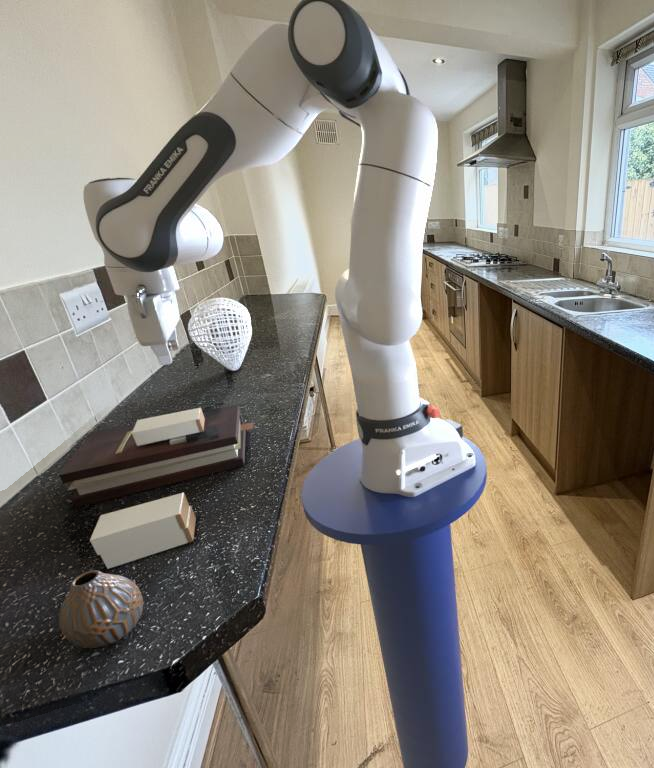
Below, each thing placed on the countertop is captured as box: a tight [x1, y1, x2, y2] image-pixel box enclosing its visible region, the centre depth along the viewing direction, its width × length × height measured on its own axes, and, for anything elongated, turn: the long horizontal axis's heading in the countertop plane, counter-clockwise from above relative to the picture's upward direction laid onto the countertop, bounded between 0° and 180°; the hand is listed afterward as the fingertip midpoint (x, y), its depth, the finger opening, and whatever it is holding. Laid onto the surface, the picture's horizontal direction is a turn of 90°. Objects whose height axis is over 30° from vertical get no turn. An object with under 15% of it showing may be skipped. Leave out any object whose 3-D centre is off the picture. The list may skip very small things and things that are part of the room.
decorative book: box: [58, 401, 255, 508], centre depth 82 cm, size 19×8×30 cm
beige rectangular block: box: [89, 492, 197, 570], centre depth 62 cm, size 10×6×6 cm, turn 122°
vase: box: [58, 569, 144, 649], centre depth 48 cm, size 7×7×9 cm
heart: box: [187, 297, 253, 372], centre depth 128 cm, size 28×16×22 cm, turn 32°
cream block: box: [132, 407, 205, 446], centre depth 80 cm, size 10×6×3 cm, turn 123°
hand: (170, 356), depth 77 cm, fingers open, 8 cm apart
